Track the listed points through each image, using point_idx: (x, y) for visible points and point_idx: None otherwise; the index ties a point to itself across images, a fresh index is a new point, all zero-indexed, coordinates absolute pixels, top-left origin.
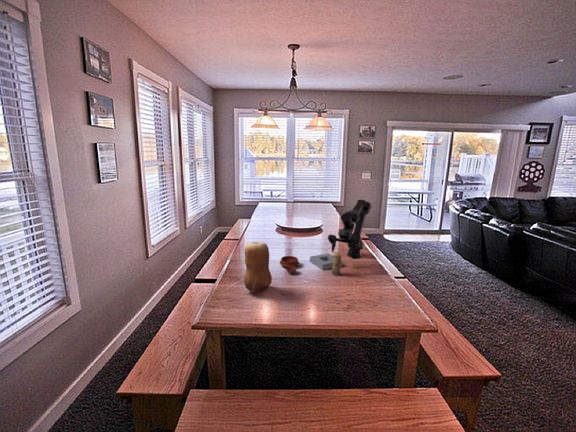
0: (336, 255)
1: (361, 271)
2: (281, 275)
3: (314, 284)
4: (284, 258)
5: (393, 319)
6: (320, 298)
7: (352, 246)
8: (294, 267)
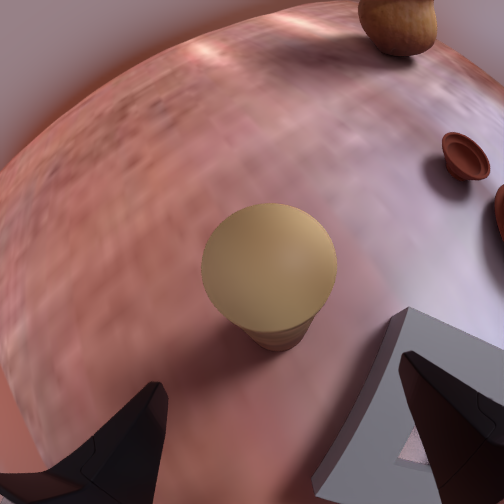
0: (252, 210)
1: None
2: None
3: (301, 137)
4: None
5: (30, 152)
6: (217, 88)
7: (50, 473)
8: (474, 177)
